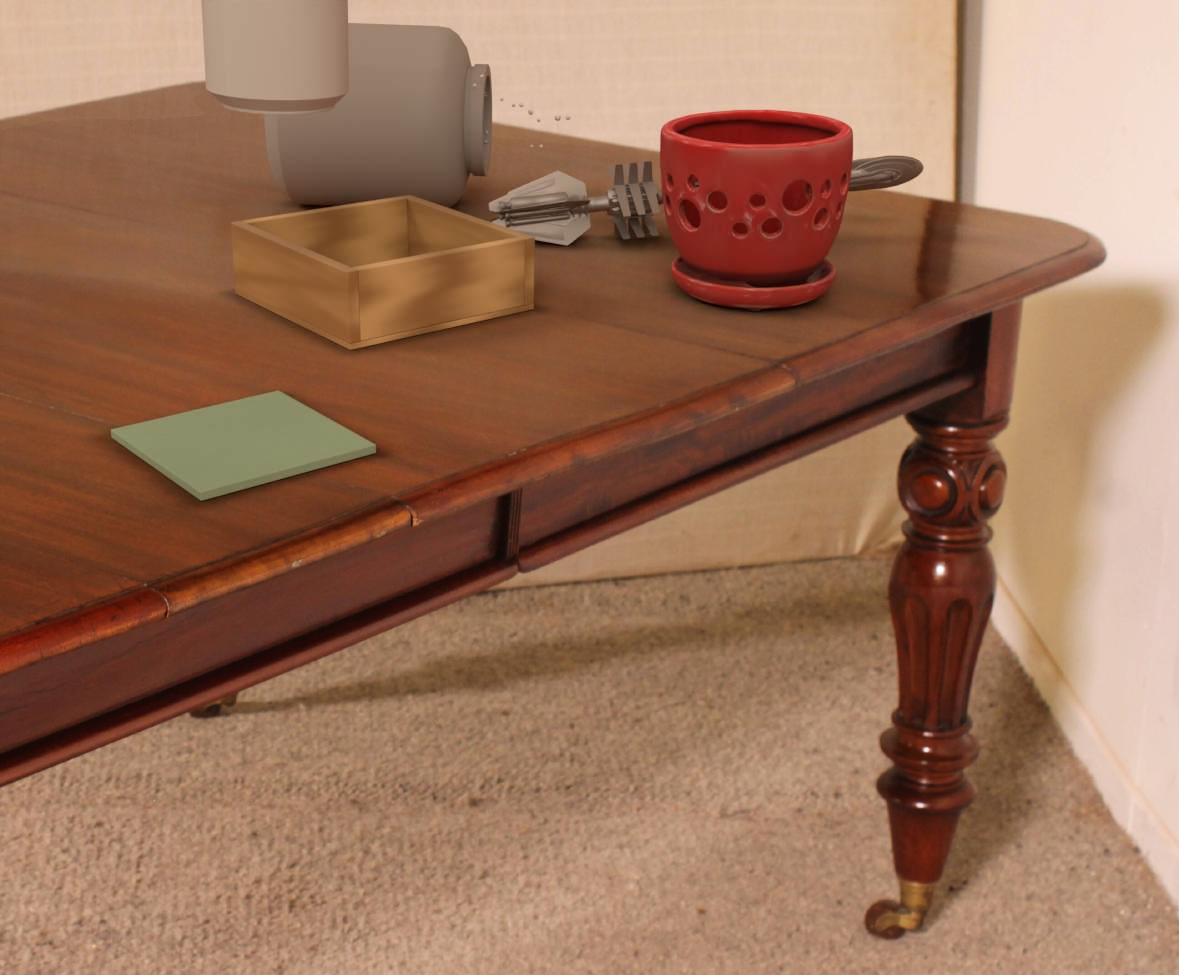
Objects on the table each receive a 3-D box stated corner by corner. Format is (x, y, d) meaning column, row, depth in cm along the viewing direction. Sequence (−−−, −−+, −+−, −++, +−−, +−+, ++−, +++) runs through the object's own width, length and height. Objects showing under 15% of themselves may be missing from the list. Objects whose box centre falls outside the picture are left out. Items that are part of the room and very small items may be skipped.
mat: (201, 501, 72) (200, 492, 71) (111, 438, 78) (110, 429, 78) (376, 453, 78) (376, 444, 77) (278, 398, 84) (278, 389, 84)
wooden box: (350, 350, 92) (347, 271, 90) (235, 293, 102) (230, 222, 100) (534, 309, 101) (535, 237, 99) (411, 261, 111) (410, 194, 109)
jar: (329, 114, 137) (594, 92, 132) (313, 259, 133) (587, 242, 128) (241, -12, 120) (542, -44, 115) (219, 150, 115) (532, 125, 110)
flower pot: (740, 258, 115) (752, 99, 110) (876, 299, 106) (895, 128, 101) (615, 286, 107) (621, 117, 102) (750, 333, 98) (764, 149, 93)
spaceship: (947, 153, 114) (914, 97, 119) (494, 204, 110) (480, 144, 115) (930, 236, 120) (899, 179, 125) (499, 288, 116) (486, 226, 121)
